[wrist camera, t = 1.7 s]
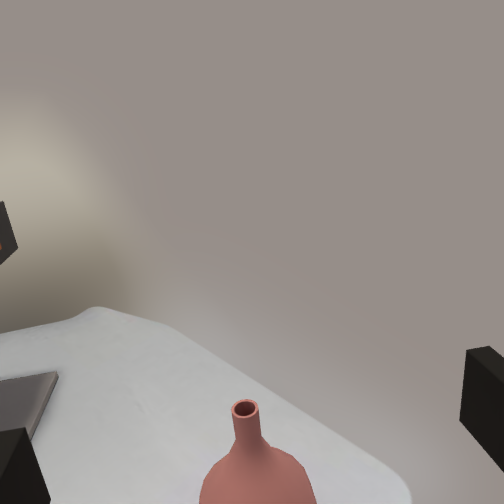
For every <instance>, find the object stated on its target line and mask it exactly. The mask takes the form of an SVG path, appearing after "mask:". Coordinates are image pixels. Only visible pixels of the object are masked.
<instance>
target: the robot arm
mask: <svg viewBox="0 0 504 504" xmlns="http://www.w3.org/2000/svg"><path fill="white" fill-rule="evenodd" d="M459 420H460V422H461V423H462V424H463V425H464V426H465V428H466V429H467V430H468V431H469V432H470V433H471V434H472V436H473V437H474V438H475V439H476V440H477V442H478V443H479V444H480V445H481V446H482V447H483V449H484V450H485V451H486V452H487V453H488V455H489V456H490V457H491V458H492V459H493V460H494V461H495V463H496V464H497V465H498V466H499V467H500V469H501V470H502V471H503V472H504V358H503V357H502V356H501V355H500V354H498V353H497V352H496V351H495V350H494V349H492V348H491V347H490V346H486V347H480V348H475V349H469V350H466V361H465V370H464V380H463V389H462V399H461V410H460V419H459ZM50 501H51V498H50V495H49V492H48V489H47V487H46V484H45V481H44V478H43V475H42V473H41V470H40V467H39V464H38V461H37V458H36V456H35V453H34V450H33V447H32V444H31V442H30V439H29V436H28V433H27V430H26V427H23V428H17V429H11V430H5V431H0V504H50Z"/></svg>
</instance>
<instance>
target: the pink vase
mask: <svg viewBox="0 0 504 504" xmlns="http://www.w3.org/2000/svg"><path fill="white" fill-rule="evenodd" d="M231 411H232V417H233V424H234V430H235V437H236V440H235V442H234V444H233V446H232V448H231V450H230V452H229V454H227V455H226V456H225V457H223V458H222V459H221V460H220V461H218V462H217V463H216V464H215V465H214V466H213V467H212V468H211V470H210V471H209V473H208V474H207V476H206V477H205V479H204V481H203V485H202V489H201V493H200V499H199V504H317V502H316V499H315V496H314V493H313V490H312V486H311V483H310V481H309V479H308V476H307V474H306V471H305V469H304V467H303V466H302V465H301V464H300V463H299V462H298V461H297V460H296V459H295V458H294V457H293V456H292V455H290V454H288V453H286V452H284V451H282V450H280V449H278V448H274V447H271V446H270V445H269V444H268V443H267V442H266V441H265V440H264V438H263V437H262V436H261V429H260V419H259V410H258V405H257V403H256V402H255V401H252V400H248V399H245V400H240V401H238V402H236V403H235V404H234V405H233V406H232V410H231Z"/></svg>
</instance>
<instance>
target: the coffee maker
mask: <svg viewBox="0 0 504 504" xmlns="http://www.w3.org/2000/svg"><path fill="white" fill-rule="evenodd" d="M17 249H18V246H17V243H16V240H15V237H14V233H13V230H12V227H11V224H10V221H9V217H8V214H7V211H6V208H5V205H4V202H3V201H2V202H0V265H1V264H2V263H3V262H4V261H5V260H6V259H7V258H8V257H9V256H10V255H11V254H12V253H14V252H15V251H16V250H17ZM57 379H58V374H57V371H56V372H50V373H44V374H38V375H32V376H26V377H20V378H14V379H8V380H2V381H0V431H5V430H11V429H17V428H23V427H26V430H27V433H28V436H29V439H30V440H31V438H32V436H33V434H34V431H35V429H36V427H37V424H38V422H39V420H40V418H41V415H42V413H43V411H44V408H45V406H46V404H47V402H48V399H49V397H50V395H51V392H52V390H53V388H54V386H55V383H56V381H57Z"/></svg>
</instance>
